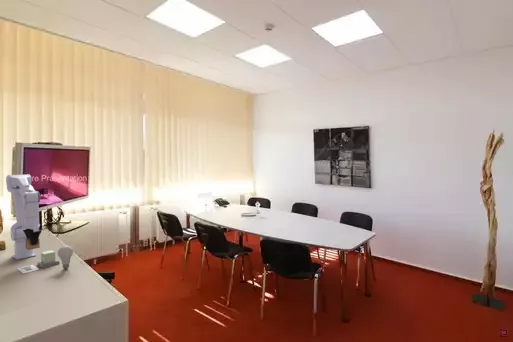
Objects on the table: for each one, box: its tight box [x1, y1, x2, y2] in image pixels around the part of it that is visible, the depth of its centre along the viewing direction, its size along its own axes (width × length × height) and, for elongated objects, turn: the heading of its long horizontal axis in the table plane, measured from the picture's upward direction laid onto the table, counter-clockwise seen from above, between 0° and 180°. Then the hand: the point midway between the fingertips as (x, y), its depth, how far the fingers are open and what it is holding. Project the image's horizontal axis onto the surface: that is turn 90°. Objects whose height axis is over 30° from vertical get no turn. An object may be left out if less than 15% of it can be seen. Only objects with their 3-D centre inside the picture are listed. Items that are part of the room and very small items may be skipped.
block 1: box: [25, 237, 41, 250], centre depth 138 cm, size 4×4×4 cm
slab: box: [36, 257, 60, 269], centre depth 138 cm, size 7×7×2 cm
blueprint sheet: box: [16, 264, 40, 275], centre depth 132 cm, size 10×6×1 cm, turn 52°
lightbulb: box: [57, 245, 74, 270], centre depth 131 cm, size 6×6×11 cm
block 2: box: [40, 249, 56, 264], centre depth 138 cm, size 4×4×4 cm
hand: (32, 244), depth 138 cm, fingers closed on block 1, 4 cm apart
